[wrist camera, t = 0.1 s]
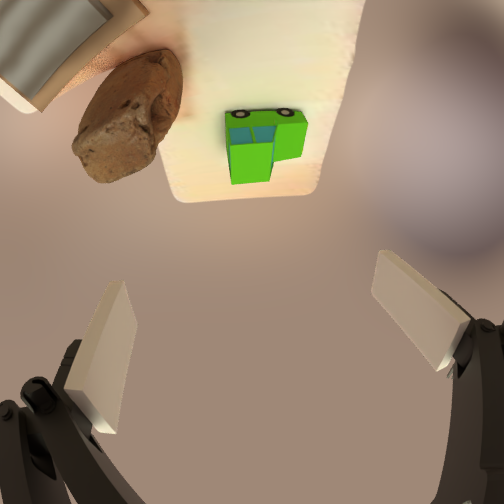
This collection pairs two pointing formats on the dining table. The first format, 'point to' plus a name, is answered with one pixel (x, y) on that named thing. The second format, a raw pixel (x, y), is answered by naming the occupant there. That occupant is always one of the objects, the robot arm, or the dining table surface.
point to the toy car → (262, 142)
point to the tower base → (57, 40)
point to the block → (129, 116)
